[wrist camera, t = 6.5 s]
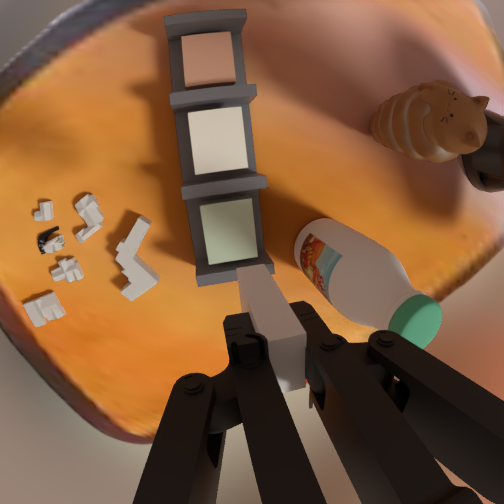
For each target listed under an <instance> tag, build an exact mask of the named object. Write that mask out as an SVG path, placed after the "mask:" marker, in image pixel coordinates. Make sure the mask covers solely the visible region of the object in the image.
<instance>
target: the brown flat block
mask: <svg viewBox="0 0 504 504" xmlns="http://www.w3.org/2000/svg"><path fill="white" fill-rule="evenodd" d="M181 39H182V53H183V65H184V77H185V87H186V91H189V90H196V89H203V88H212V87H221V86H232V85H234V84H235V83H236V75H235V67H234V58H233V49H232V41H231V32H217V33H206V34H197V35H189V36H181Z"/></svg>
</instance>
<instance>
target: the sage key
mask: <svg viewBox="0 0 504 504" xmlns="http://www.w3.org/2000/svg"><path fill="white" fill-rule="evenodd" d="M200 211H201V218H202V224H203V231H204V237H205V243H206V249H207V255H208V261H209V265H210V264H216V263H223V262H229V261H235V260H241V259H247V258H253V257H258V253H257V244H256V235H255V225H254V216H253V207H252V198H250V197H249V196H248V195H245V196H238V197H231V198H224V199H217V200H210V201H204V202H200Z"/></svg>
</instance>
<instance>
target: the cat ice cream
mask: <svg viewBox="0 0 504 504" xmlns="http://www.w3.org/2000/svg"><path fill="white" fill-rule="evenodd" d="M488 102H489V97H485V96H476V97H469V96H467V95H465V94H463V93H461V92H459V90H458V89H457V88H456V87H455V86H454V85H452V84H451V83H449V82H447V81H444V80H437V81H434V82H432V83H421V84H419V86H414V87H411V88H410V89H408V90H407V91H405V92H404V93H400V94H397V95H394V96H392V97H391V98H390V99H389V100H386V101H385V102H384V103H382V104H381V105H380V106H379V107H378V109H377V111H376V112H375V113H374V114H373V116H372V118H371V120H370V131H371V134H372V136H373V138H374V139H375V140H376V141H377V142H379V143H382V144H383V145H384V146H385V147H388V148H391V149H393V150H395V151H398V152H403V153H405V154H406V155H407V156H408V157H410V158H413V159H417V160H428V161H431V162H434V163H442V162H445V161H448V160H452V159H455V158H456V157H457V156H458V155H459V154H468V153H471V152H474V151H476V150H477V149H479V148H480V147H481V146H482V145H483V143H484V141H485V139H486V136H487V121H486V117H485V115H484V113H483V111H484V110H485V108H486V106H487V104H488Z"/></svg>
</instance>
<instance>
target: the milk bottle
mask: <svg viewBox="0 0 504 504" xmlns="http://www.w3.org/2000/svg"><path fill="white" fill-rule="evenodd" d="M294 257H295V260H296V263H297V265H298V266H299V268H300V269H301V270H302V272H303V273H304V274H305V275H306V276H307V277H308V279H309V280H310V281H311V282H312V283H313V284H314V285H315V287H316V288H317V289H318V290H319V291H320V292H321V293H322V295H323V296H324V297H325V298H326V299H327V300H328V301H329V302H330V303H331V305H332V306H333V307H334V308H335V309H336V310H337V311H338V312H339V313H341V314H342V315H343V316H344V317H346V318H347V319H349V320H351V321H353V322H355V323H358V324H361V325H365V326H370V327H374V328H377V329H379V330H389V331H393V332H395V333H398V334H399V335H401V336H402V337H404V338H406V339H407V340H409V341H410V342H412V343H413V344H415V345H417V346H418V347H420V348H421V349H423V348H424V347H426V345H428V344H429V343H430V342H431V340H432V339H433V338H434V336H435V335H436V333H437V331H438V329H439V327H440V324H441V320H442V310H441V307H440V306H439V304H438V303H437V302H436V301H435V300H433V299H432V298H430V297H429V296H427V295H425V293H423V292H422V291H416V290H415V289H414V288H413V286H412V285H411V283H410V281H409V279H408V277H407V274H406V272H405V270H404V268H403V266H402V264H401V263H400V261H399V260H398V259H397V258H396V257H395V255H393V254H392V253H391V252H390V251H389V250H388V249H386V248H385V247H383V246H382V245H380V244H378V243H377V242H375V241H374V240H372V239H370V238H368V237H366V236H365V235H363V234H361V233H359V232H357V231H355V230H354V229H352V228H350V227H348V226H346V225H344V224H342V223H340V222H338V221H336V220H333V219H329V218H321V219H317V220H314V221H312V222H310V223H309V224H307V225H306V226H305V227H304V228H303V229H302V230H301V232H300V233H299V234H298V236H297V238H296V241H295V245H294Z"/></svg>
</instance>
